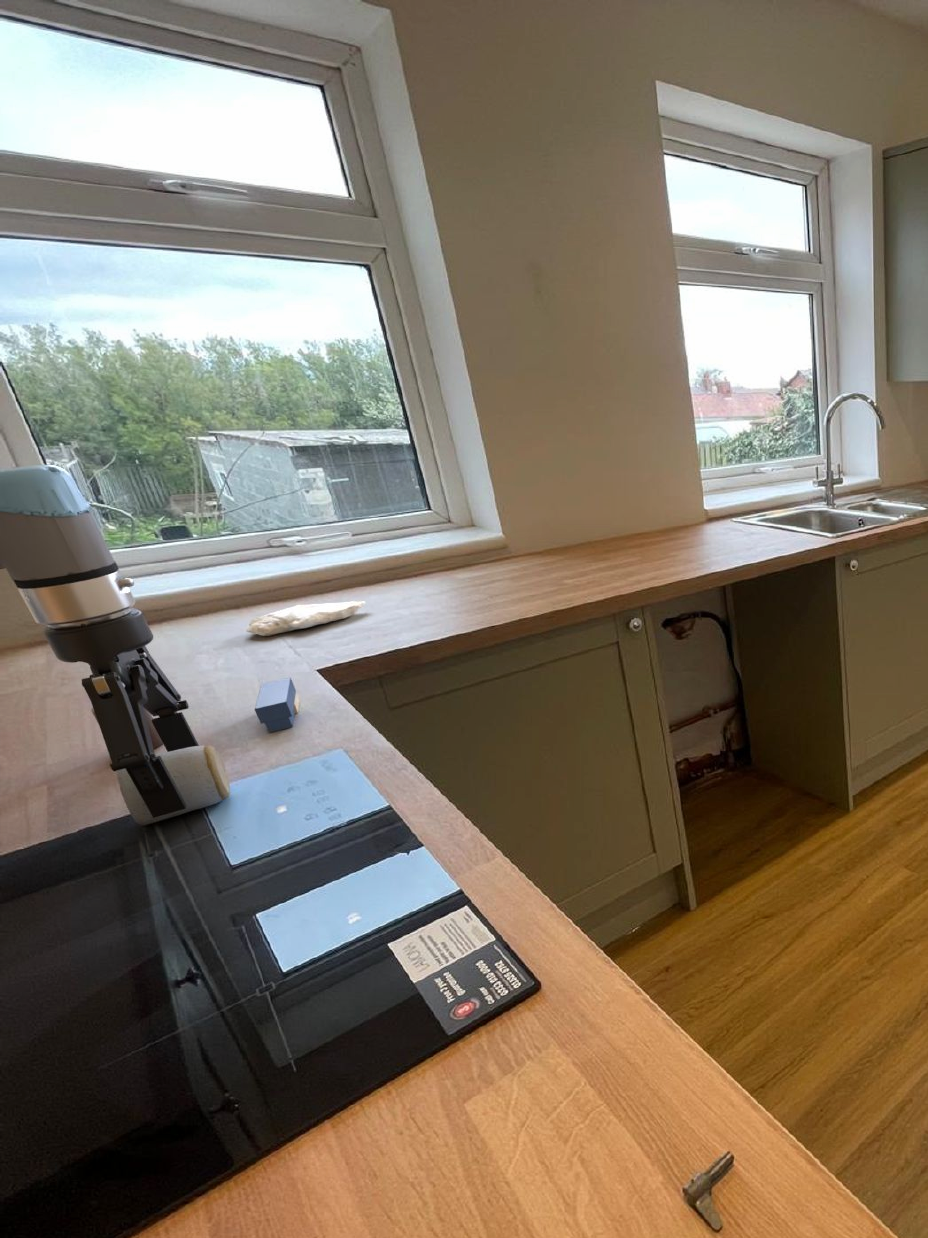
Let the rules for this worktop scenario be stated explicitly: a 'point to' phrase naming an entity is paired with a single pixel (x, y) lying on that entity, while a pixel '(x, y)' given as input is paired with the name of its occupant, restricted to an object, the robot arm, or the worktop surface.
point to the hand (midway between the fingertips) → (181, 785)
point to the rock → (302, 617)
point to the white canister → (182, 782)
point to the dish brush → (277, 704)
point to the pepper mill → (153, 733)
